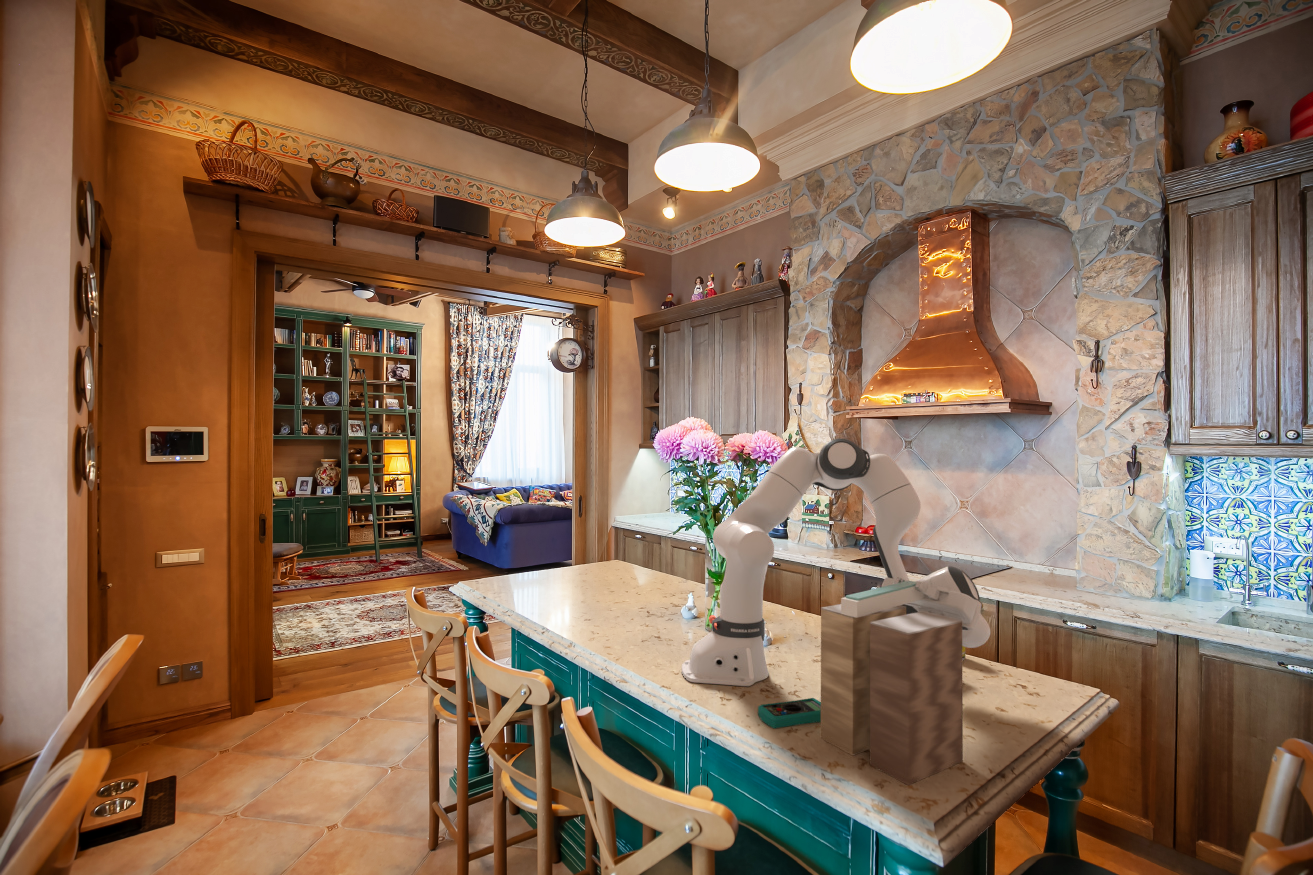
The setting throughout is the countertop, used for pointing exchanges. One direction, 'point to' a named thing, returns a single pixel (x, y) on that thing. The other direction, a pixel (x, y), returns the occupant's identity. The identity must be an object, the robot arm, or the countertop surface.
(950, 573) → the robot arm
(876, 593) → the bar
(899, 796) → the countertop surface
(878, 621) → the walnut post
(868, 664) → the oak post
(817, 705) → the digital multimeter
